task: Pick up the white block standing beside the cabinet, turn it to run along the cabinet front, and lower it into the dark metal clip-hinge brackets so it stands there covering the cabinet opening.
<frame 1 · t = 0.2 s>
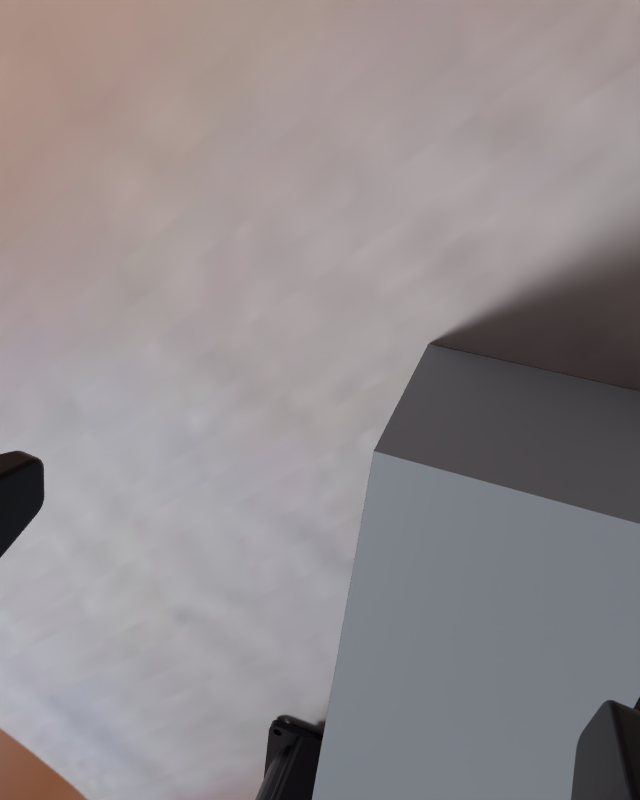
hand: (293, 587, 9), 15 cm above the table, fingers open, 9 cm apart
cabinet: (487, 544, 25), on the table
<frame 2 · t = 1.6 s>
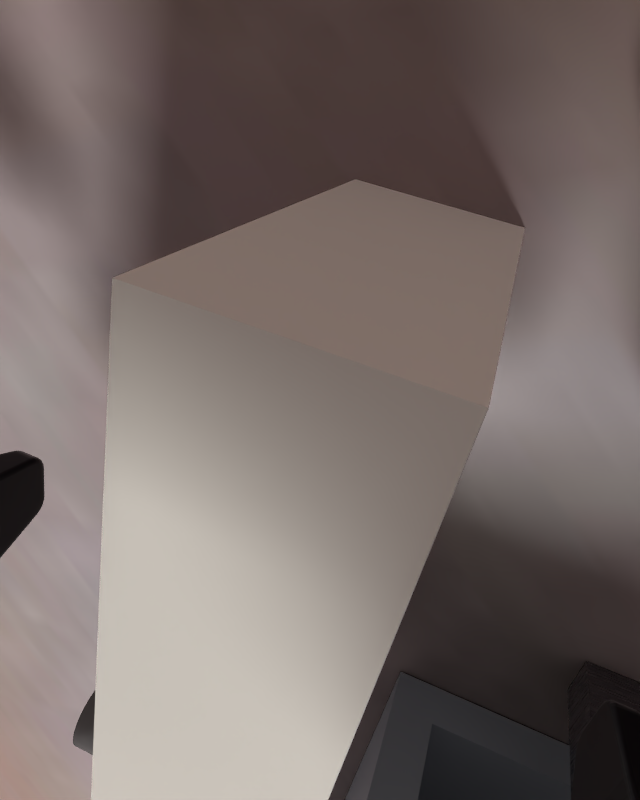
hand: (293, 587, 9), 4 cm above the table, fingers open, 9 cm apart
white block: (366, 440, 13), on the table
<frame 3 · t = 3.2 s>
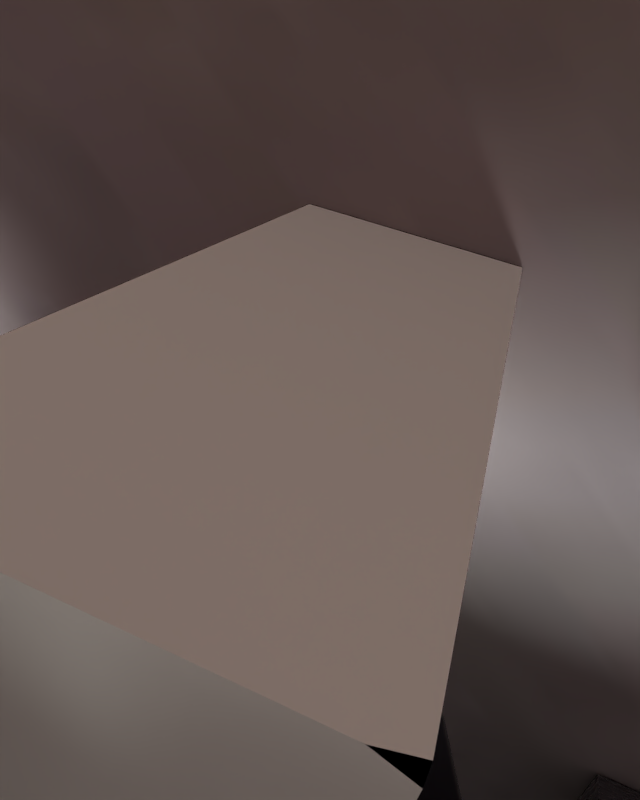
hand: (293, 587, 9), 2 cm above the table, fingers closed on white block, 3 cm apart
white block: (332, 514, 11), on the table, touching gripper
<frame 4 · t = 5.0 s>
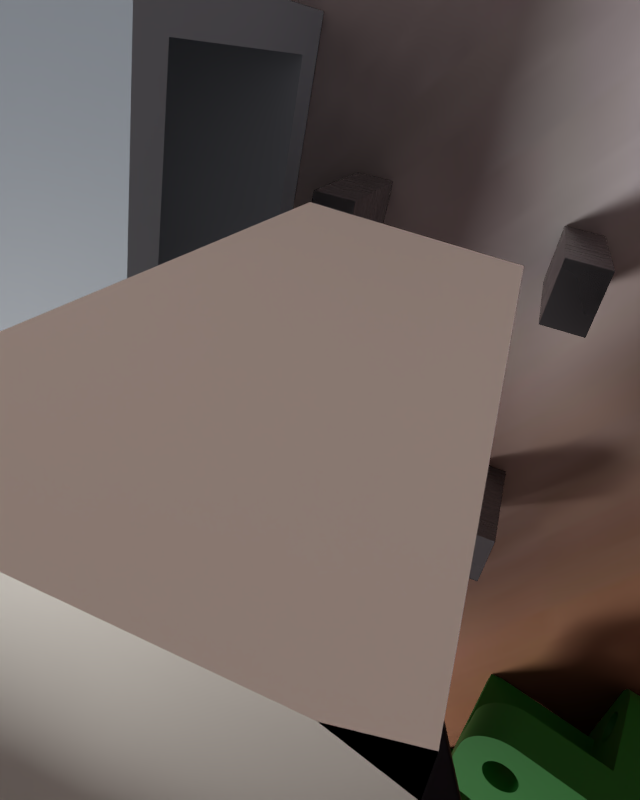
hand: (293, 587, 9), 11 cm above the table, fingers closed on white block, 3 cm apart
cabinet: (167, 271, 20), on the table
white block: (332, 514, 11), point 9 cm above the table, touching gripper
clamp: (528, 737, 24), on the table
clip brackets: (429, 354, 18), on the table
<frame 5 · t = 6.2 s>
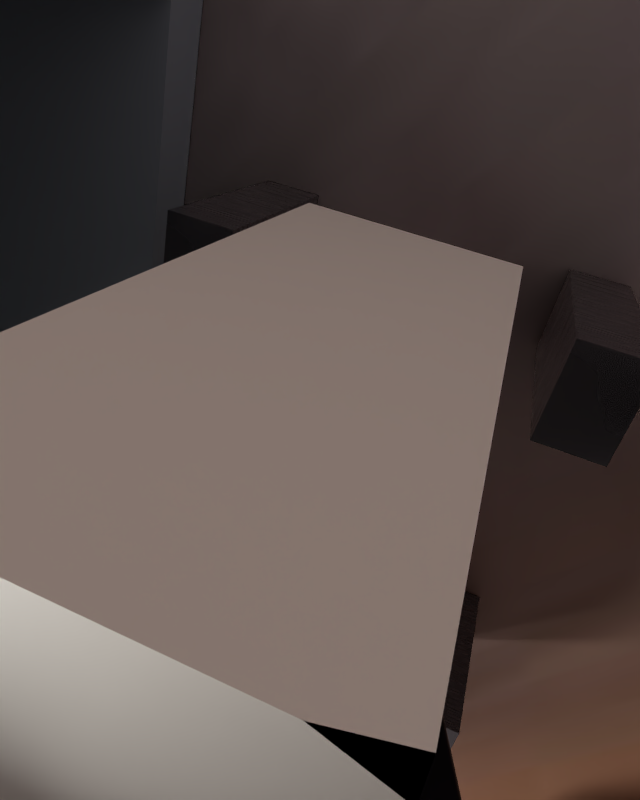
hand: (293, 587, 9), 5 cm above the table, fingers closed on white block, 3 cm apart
cabinet: (23, 309, 15), on the table
white block: (331, 514, 11), point 3 cm above the table, touching gripper
clip brackets: (375, 439, 13), on the table
when the fingers open (3 cm above the table, at t = 7.1 s): white block drops 2 cm, on the table.
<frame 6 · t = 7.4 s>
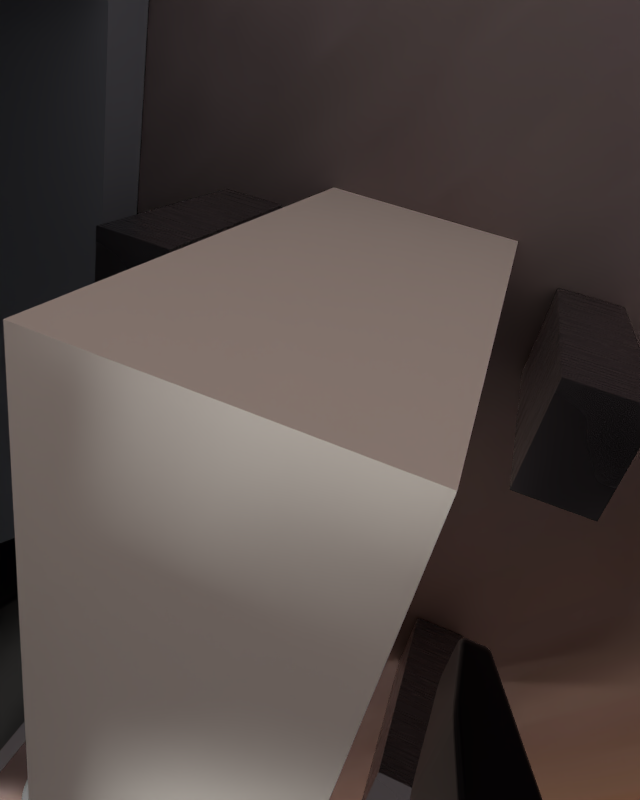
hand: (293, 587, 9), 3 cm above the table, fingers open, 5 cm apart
white block: (349, 465, 12), on the table
clip brackets: (348, 468, 12), on the table
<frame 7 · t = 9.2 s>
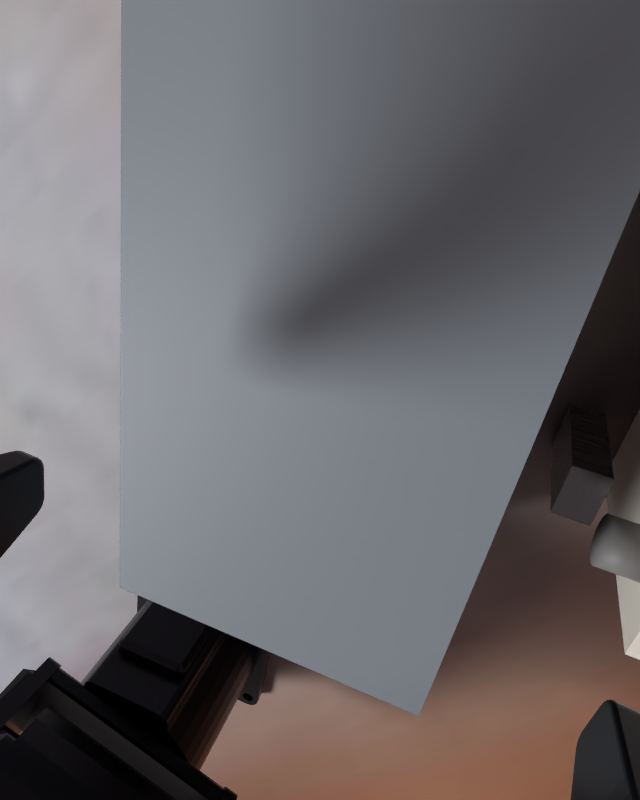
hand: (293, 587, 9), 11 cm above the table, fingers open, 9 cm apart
cabinet: (408, 254, 18), on the table
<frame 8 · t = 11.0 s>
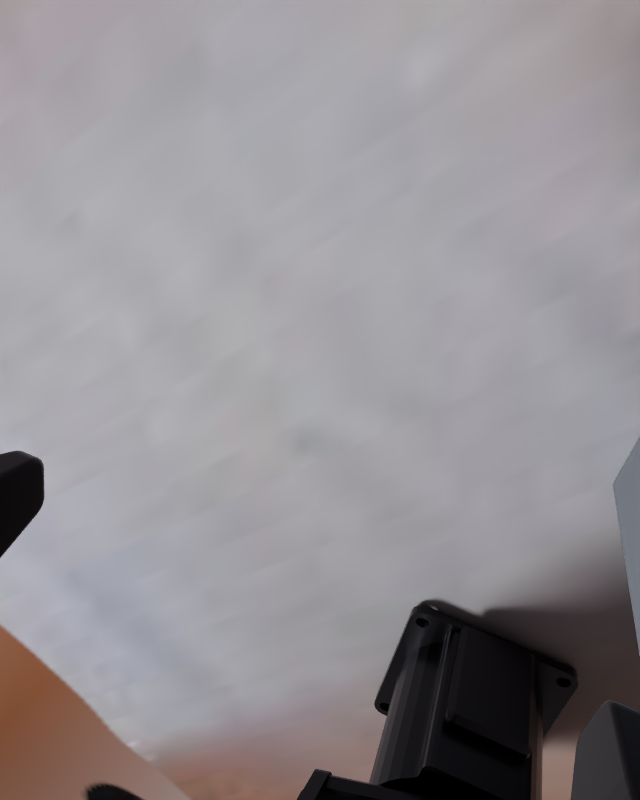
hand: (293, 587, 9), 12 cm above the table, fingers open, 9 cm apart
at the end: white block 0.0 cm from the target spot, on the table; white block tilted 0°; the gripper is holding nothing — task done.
